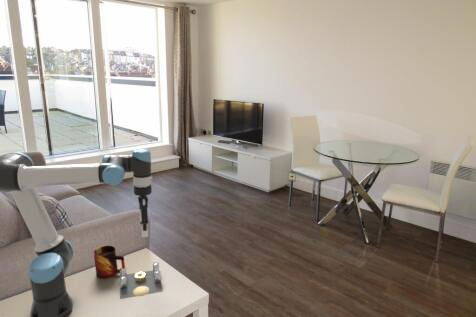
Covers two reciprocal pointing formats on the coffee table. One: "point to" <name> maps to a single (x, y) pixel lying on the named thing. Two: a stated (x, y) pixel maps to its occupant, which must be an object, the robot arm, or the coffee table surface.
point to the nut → (140, 277)
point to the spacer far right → (155, 266)
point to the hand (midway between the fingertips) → (143, 229)
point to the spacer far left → (123, 272)
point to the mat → (140, 286)
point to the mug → (107, 262)
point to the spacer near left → (123, 282)
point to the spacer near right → (157, 276)
